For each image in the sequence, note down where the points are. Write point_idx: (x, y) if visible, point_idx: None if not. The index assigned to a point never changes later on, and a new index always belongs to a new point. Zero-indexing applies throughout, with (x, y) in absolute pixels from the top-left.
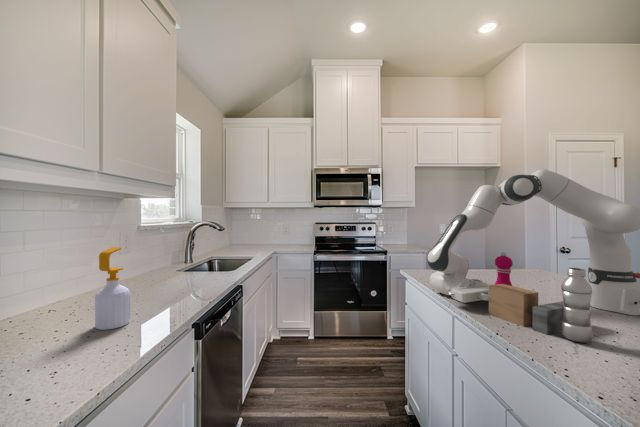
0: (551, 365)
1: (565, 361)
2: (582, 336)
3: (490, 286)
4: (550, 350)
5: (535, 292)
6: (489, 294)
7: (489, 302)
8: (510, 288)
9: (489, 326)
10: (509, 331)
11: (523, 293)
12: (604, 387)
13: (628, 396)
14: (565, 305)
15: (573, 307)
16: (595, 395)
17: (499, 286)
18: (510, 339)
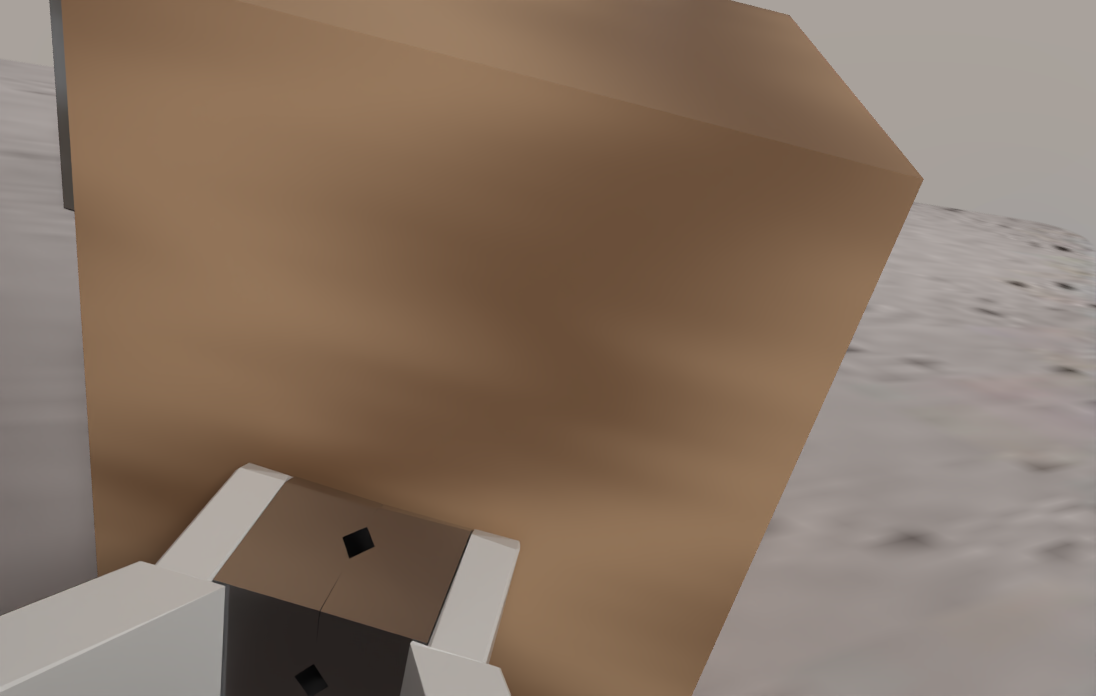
0: (1060, 311)
1: (944, 279)
2: None
3: (893, 178)
4: (905, 308)
5: None
6: (783, 474)
7: (697, 668)
8: (588, 4)
9: (1092, 643)
10: (937, 479)
11: (726, 3)
12: (983, 235)
13: (954, 212)
14: None
15: None
16: (1068, 253)
17: (646, 58)
18: (1071, 449)
